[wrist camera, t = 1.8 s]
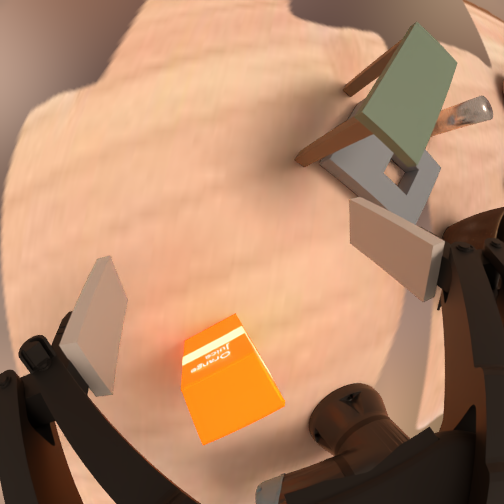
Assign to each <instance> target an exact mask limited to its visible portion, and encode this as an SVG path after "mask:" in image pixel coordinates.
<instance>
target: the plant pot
mask: <svg viewBox="0 0 504 504" xmlns="http://www.w3.org/2000/svg"><path fill="white" fill-rule="evenodd" d="M487 238H496V239H499V240H500V241H502V242H504V207H501V208H497V209H492V210H489V211H485V212H482V213H479V214H476V215H473V216H471V217H468V218H466V219H464V220H461V221H459V222H457V223H455V224H453V225H452V226H450V227H448V228H447V229H446V231H445V233H444V235H443V238H442V239H443V240H445V241H446V242H448V243H450V244H452V243H453V242H466V243H468V244H471V245H473V246H474V247H475V248H476V250H478V249H483V246H484V241H485V239H487ZM498 287H499V288H500V287H501V276H500V278H499V282H498Z"/></svg>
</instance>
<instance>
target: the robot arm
mask: <svg viewBox="0 0 504 504" xmlns="http://www.w3.org/2000/svg"><path fill="white" fill-rule="evenodd" d="M349 212H350V244H352V245H353V246H354V247H356V248H357V249H358V250H359V251H361V252H362V253H363V254H365V255H366V256H367V257H368V258H370V259H371V260H372V261H373V262H375V263H376V264H377V265H378V266H380V267H381V268H382V269H383V270H385V271H386V272H387V273H388V274H390V275H391V276H392V277H393V278H395V279H396V280H397V281H398V282H399V283H401V284H402V285H403V286H404V287H405V288H407V289H408V290H409V291H410V292H411V293H413V294H414V295H415V296H416V297H417V298H418V299H420V300H421V301H422V302H425V301H427V300H429V299H431V298H433V297H434V296H435V292H436V287H437V285H438V286H439V287H440V288H442V292H441V296H440V300H439V304H438V308H437V310H439V309H440V307H441V306H442V315H443V328H444V346H445V398H444V415H443V422H442V425H441V428H440V430H439V432H437V433H434V432H433V431H432V429H431V428H430V427H428V428H427V429H425V430H424V431H422V432H421V433H419V434H418V435H416V436H414V437H413V438H411V439H410V438H409V437H408V436H407V435H406V434H405V433H404V432H403V431H402V430H401V429H400V428H399V427H398V426H397V425H396V424H395V423H394V422H393V421H392V420H391V419H390V418H389V417H388V414H387V411H386V408H385V406H384V403H383V400H382V398H381V396H380V395H379V393H378V392H377V391H376V390H375V389H373V388H372V387H371V386H369V385H366V384H351V385H347V386H344V387H342V388H340V389H338V390H336V391H334V392H332V393H331V394H329V395H328V396H327V397H326V398H324V399H323V400H322V401H321V402H320V403H319V405H318V406H317V407H316V408H315V410H314V412H313V413H312V415H311V418H310V422H309V430H310V433H311V435H312V437H313V439H314V440H315V442H316V443H317V444H318V445H320V446H321V447H322V448H324V449H325V450H327V451H328V452H330V453H331V454H333V455H334V457H331V458H329V459H326V460H324V461H321V462H319V463H316V464H314V465H311V466H309V467H306V468H303V469H300V470H297V471H294V472H291V473H288V474H285V473H284V474H282V475H281V476H278V477H275V478H272V479H270V480H267V481H264V482H262V483H261V484H259V486H258V487H257V489H256V497H255V499H256V504H504V242H502V241H500V240H499V239H496V238H487V239H485V241H484V246H483V249H478V250H476V248H475V247H474V246H473V245H471V244H468V243H466V242H453V243H452V244H450V243H448V242H446V241H445V240H443V239H441V238H439V237H438V236H436V235H434V234H432V233H431V232H428V231H427V230H425V229H423V228H422V227H419V226H416V225H415V224H413V223H411V222H409V221H407V220H405V219H404V218H402V217H400V216H398V215H396V214H394V213H392V212H390V211H388V210H386V209H384V208H382V207H380V206H378V205H376V204H374V203H372V202H370V201H368V200H366V199H364V198H362V197H357V198H352V199H349ZM500 276H501V287H500V288H499V287H498V282H499V278H500ZM127 302H128V298H127V296H126V294H125V291H124V289H123V286H122V284H121V282H120V279H119V277H118V274H117V272H116V269H115V266H114V264H113V261H112V259H111V256H106V257H102V258H99V259H97V261H96V263H95V265H94V267H93V269H92V271H91V273H90V275H89V277H88V279H87V281H86V283H85V285H84V287H83V290H82V292H81V294H80V296H79V298H78V301H77V303H76V305H75V307H74V310H73V311H71V312H68V314H67V315H66V316H65V317H64V318H63V319H62V321H61V324H60V326H59V329H58V331H57V333H56V335H55V338H54V340H53V343H52V345H50V344H49V342H48V341H47V339H46V337H44V336H43V335H37V336H33V337H32V338H30V339H28V340H27V341H26V342H25V343H24V344H23V345H22V346H21V348H20V350H19V353H18V354H19V358H20V359H21V361H22V362H23V364H24V365H25V366H26V368H27V369H28V370H29V372H30V374H28V375H26V376H23V377H21V378H20V377H19V376H18V375H17V374H16V372H15V371H13V370H7V371H4V372H3V373H1V374H0V481H1V486H2V491H3V496H4V500H5V504H83V502H82V499H81V497H80V495H79V492H78V490H77V488H76V485H75V483H74V480H73V478H72V475H71V472H70V469H69V467H68V464H67V461H66V458H65V455H64V452H63V449H62V446H61V442H60V439H59V436H58V432H57V428H56V425H55V421H56V422H57V424H58V426H59V427H60V429H61V430H62V432H63V434H64V435H65V437H66V438H67V440H68V441H69V443H70V445H71V446H72V448H73V449H74V450H75V452H76V453H77V455H78V456H79V458H80V459H81V460H82V462H83V463H84V465H85V466H86V467H87V469H88V470H89V471H90V473H91V474H92V475H93V476H94V478H95V479H96V480H97V481H98V483H99V484H100V485H101V486H102V488H103V489H104V490H105V491H106V492H107V494H108V495H109V496H110V497H111V498H112V499H113V500H114V502H115V503H116V504H201V503H199V502H198V501H196V500H195V499H194V498H192V497H191V496H190V495H188V494H187V493H186V492H184V491H183V490H182V489H181V488H179V487H178V486H177V485H176V484H174V483H173V482H172V481H171V480H169V479H168V478H167V477H166V476H165V475H164V474H162V473H161V472H160V471H159V470H158V469H157V468H155V467H154V466H153V465H152V464H151V463H150V462H149V461H148V460H147V459H146V458H145V457H143V456H142V455H141V454H140V453H139V452H138V451H137V450H136V449H135V448H134V447H133V446H132V445H131V444H130V443H129V442H128V441H127V440H126V439H125V438H124V437H123V436H122V435H121V434H120V433H119V432H118V430H117V429H116V428H115V427H114V426H113V425H112V424H111V423H110V422H109V421H108V419H107V418H106V417H105V416H104V415H103V414H102V413H101V411H100V410H99V409H98V408H97V407H96V406H95V404H94V403H93V402H92V401H91V399H90V398H89V397H88V396H87V394H88V388H90V390H91V391H92V392H93V393H94V395H95V396H96V397H97V396H106V395H113V387H114V379H115V372H116V365H117V358H118V351H119V345H120V339H121V333H122V328H123V322H124V317H125V312H126V307H127Z"/></svg>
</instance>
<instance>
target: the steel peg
mask: <svg viewBox="0 0 504 504" xmlns="http://www.w3.org/2000/svg"><path fill="white" fill-rule="evenodd" d="M492 118H493V111H492V107H491V105H490V103H489V101H488V100H487V99H486V98H485V97H484V96H479V97H476V98H474V99H471V100H468V101H465V102H463V103H460V104H457V105H454V106H452V107H449V108H446V109H444V110H441V111H440V114H439V117H438V119H437V122H436V124H435V127H434V129H433V131H432V134H431V136H435V135H438V134H441V133H445V132H448V131H451V130H455V129H458V128H462V127H465V126H469V125H473V124H476V123H480V122H484V121H487V120H491V119H492ZM431 136H430V137H431Z"/></svg>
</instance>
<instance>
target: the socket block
mask: <svg viewBox="0 0 504 504" xmlns="http://www.w3.org/2000/svg"><path fill="white" fill-rule="evenodd" d="M365 99H366V98H365ZM365 99H364V100H365ZM364 100H362V101H361V102H359V103H358V104H357V106H356V107H355V109H354V110H353V112H352V113H351V115H350V117H349V118H348V120H349V119H350V118H352V117H353V116H355V114H356V113H357V111H358V110H359V108H360V106H361V105H362V103H363V102H364ZM391 159H392V160H393V161H394V162H395V163H396V164H397V165H398V166H399V167H400V168H401V169H402V170H403V171H404V172H405V173H404V175H403V177H402V179H401V181H400V183H399V185H398V186H397V185H395V184H394V183H393V182H392V181H391V180H390V179H389V178H388V177H387V176H386V175H385V174H384V171H385V169H386V167H387V165H388V163H389V161H390V160H391ZM319 164H320V165H321V166H322V167H323V168H325V169H326V170H327V171H328V172H330V173H331V174H332V175H333V176H335V177H336V178H337V179H338V180H340V181H341V182H342V183H343V184H344V185H346V186H347V187H348V188H349V189H350V190H352V191H353V192H354V193H355V194H356V195H357V196H359V197H362V198H364V199H366V200H368V201H370V202H372V203H374V204H376V205H378V206H380V207H382V208H384V209H386V210H388V211H390V212H392V213H394V214H396V215H398V216H400V217H402V218H404V219H405V220H407V221H409V222H411V223H413V224H415V225H416V223H417V221H418V219H419V217H420V215H421V212H422V211H423V208H424V206H425V204H426V202H427V200H428V197H429V195H430V193H431V191H432V188H433V186H434V184H435V181H436V179H437V177H438V174H439V172H440V169H441V167H440V166H439V165H438V164H437V162H436V161H435V160H434V159H433V158H432V157H431V155H430V154H429V153H428V152H427V151H426V150H424V152H423V155H422V157H421V159H420V161H419V163H418V165H416V166H412V167H407V166H406V165H405V164H404V163H403V162H402V161H401V160H400V159H399V158H398V157H397V156H396V155H395V154H394V153H393V152H392V151H391V150H390V149H389V148H388V147H387V146H386V145H385V144H384V143H383V142H381V141H380V140H379V139H378V138H377V137H376V136H375V135H374V134H373V135H371V136H368V137H366V138H364V139H362V140H360V141H357V142H355V143H353V144H351V145H349V146H347V147H345V148H343V149H340V150H338V151H336V152H334V153H332V154H330V155H328V156H326V157H324V158H322V160H321V161H320V163H319Z"/></svg>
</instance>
